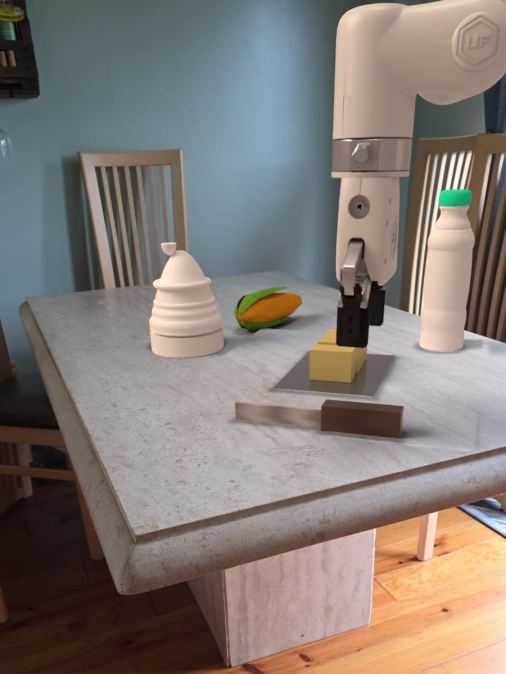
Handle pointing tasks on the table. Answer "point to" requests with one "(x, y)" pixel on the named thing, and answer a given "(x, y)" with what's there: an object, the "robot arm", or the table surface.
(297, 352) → the table surface
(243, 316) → the corn
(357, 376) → the butter dish
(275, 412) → the knife
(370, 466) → the table surface
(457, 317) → the water bottle
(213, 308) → the honey pot
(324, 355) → the block
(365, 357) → the butter block
